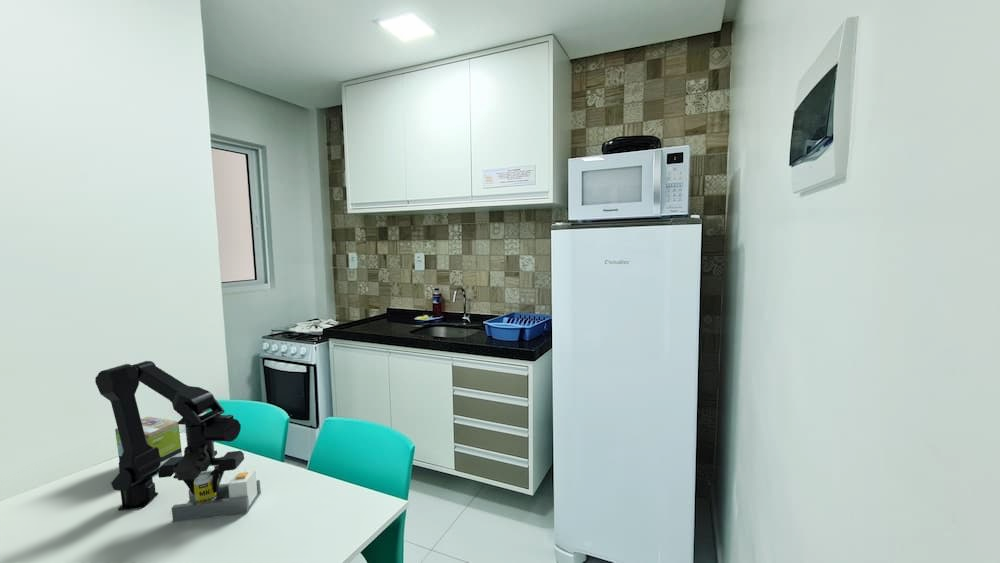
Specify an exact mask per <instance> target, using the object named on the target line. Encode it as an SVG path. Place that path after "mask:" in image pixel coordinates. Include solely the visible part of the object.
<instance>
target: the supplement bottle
mask: <svg viewBox="0 0 1000 563" xmlns="http://www.w3.org/2000/svg"><path fill="white" fill-rule="evenodd" d="M213 470H214V469H213V468H212V467H211V466H209V467H208V469H207V471H203V472H201V473H200V475H199V476H198V477H197V478H195V480H194V493H195V502H203V501H211V500H214V499H215V498H216V496H217V495H216V493H214V491H213V477H212V476H211V475H210V473H211V472H212V471H213Z"/></svg>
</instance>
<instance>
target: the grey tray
mask: <svg viewBox="0 0 1000 563" xmlns="http://www.w3.org/2000/svg"><path fill="white" fill-rule="evenodd" d="M256 481H257V492H258V493H257V494H256V496H255V497H254V499H253V500H252V502H251V503H250V505H249V499H248V496H245V497H236V498H230V497H229V487H228V483H223V484H222V483H220V484H219V487H218V490H217V492H216V495H217V496H216V498H215V499H214V500H211V501H203V502H195V495H193V494H192V492H191V491H190V489H189V488H188V498H189V500H188V501H187V502H185V503H179V504H173V506H171V515H172V523H176V522H185V521H186V520H187V521H192V520H202V519H209V518H218V517H223V516H224V517H225V516H226V517H227V516H232V515H240V514H248V513H249V512H250V509H251V508H252V507H253V505H255V502H256V501H257V499H258V498H259V497H260V495H261V493H262V489H261V481H260V479H256Z"/></svg>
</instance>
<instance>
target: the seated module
mask: <svg viewBox="0 0 1000 563" xmlns="http://www.w3.org/2000/svg"><path fill="white" fill-rule="evenodd" d="M256 480H257V471H256V469H250V470H249V469H248V470H242V471H240V470H239V471H238V472H237V473H236V474H235V475H234V476H233V477H232V479H231V480H230V481H229V482H228V483H227V484H228V487H229V497H230V498H236V497H245V496H248V499H249V505H250V503H251V502H252V500H253V499H254V497H255V496H256V494H257V493H258V492H257V481H256Z"/></svg>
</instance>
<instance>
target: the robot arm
mask: <svg viewBox="0 0 1000 563" xmlns="http://www.w3.org/2000/svg"><path fill="white" fill-rule="evenodd" d="M94 382H95V385H96V387H97V389H98V392H99V394H100V395H101V396H102V397H104V398H105V399H106V400H108V401H109V402H110V404H111V407H112V411H113V416H114V418H115V423H116V427H117V428H118V431H119V435H120V439H121V443H122V447H123V454H122V457H121V459H120V461H118V471H119V473H118V474H117V475H116V476H115V478H114V479H113V480H112V481H111V482H110V483H111V484H110V485H111V486H112V489H113V490H114V491H119V492H120V497H121V505H120V506H119V507H118V508H117V511H126V510H127V511H128V510H135V509H143V508H145V507H146V506H147V505H148V504H149V503H150V502H151V501H153V500H154V499H155V498H156V497H157V496H158V495H159V492H157V491H156V483H155V482H154V481H153V479H154V478H153V477H152V476H154V475H156V474H158V475H156V476H158V477H159V479H161V478H170V477H172V476H173V475H174V476H173V477H172V478H173V479H176V480H177V481H183V482H184V483H185V485H186V487H187V488H188V490H189V489H190V491H191V492H192V494H193V495H195V493H194V480H195V478H197V477H198V476H199V475H200V473H201V472H203V471H207V469H208V467H212V466H213V469H212V470H213V471H212V472H211V473H210V475H211V476H212V477H213V491H214V493H216V492H217V490H218V487H219V485H220V484H221V481H222V478H223V476H224V473H225V472H227V471H234V470H236V469H237V468H238V467H239V466H240V465H241V463H242V462H243V461H244V460H245V454H244V452H243V451H241V450H234V451H227V452H226V453H225V454H224V455H223V456H220V457H216V456H217V454H218V450H215V445H214V444H215V443H214V442H225V443H226V442H227V443H232V442H233V441H235V440H236V439H237V438H238V437H239V435H240V432H241V427H242V425H241V423H240V421H239V420H238V419H237V418H234V415H233V414H224V413H225V412H226V411H225V410H224V408H223V407H222V405H221V404H220V403H219V402H218V400H217V398H216V397H214V394H213V393H212V392H211V391H209V390H207V389H204V388H202V387H199V386H191V385H188V384H185V383H184V382H182V381H180V380H178V379H177V378H176V377H174V376H172V375H171V374H170V373H167V372H166V371H165V370H163V369H161V368H160V367H158V366H156V364H155V362H154V361H152V360H144V361H142V362H138V363H135V364H130V363H125V364H122V365H117V366H114V367H110V368H108V369H104V370H101V371H99V372H98V373H97V375H96V376H95V380H94ZM140 383H141V384H143V385H145V386H146V387H148V388H149V389H151V390H153V391H154V392H156V393H158V394H159V395H160V396H162V397H164V398H165V399H167V400H168V401H170V402H171V404H172V408H173V410H174V411H175V412H176V413H177V414H178V415H179V416H180V417H181V419H180V420H179V421H178V424H179V425H184V426H185V437H186V446H185V447H184V451H183V452H184V453H183V455H182V457H171V458H170V459H169V460H167V461H166V462H165V463H164V464H163V465H161V466H160V464H161V461H160V460H162V458H161V457H160V454H159V449H158V448H157V447H155V448H153V447H152V446H150V445H149V444H147V442H146V438H145V434H144V430H143V426H142V422H141V419H142V418H141V415H140V411H139V407H138V402H137V399H136V393H137V390H138V388H139V385H140ZM210 410H211V411H210ZM208 411H209V412H208ZM206 412H207V413H206ZM117 428H116V429H117ZM159 466H160V467H159ZM154 477H155V476H154Z"/></svg>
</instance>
